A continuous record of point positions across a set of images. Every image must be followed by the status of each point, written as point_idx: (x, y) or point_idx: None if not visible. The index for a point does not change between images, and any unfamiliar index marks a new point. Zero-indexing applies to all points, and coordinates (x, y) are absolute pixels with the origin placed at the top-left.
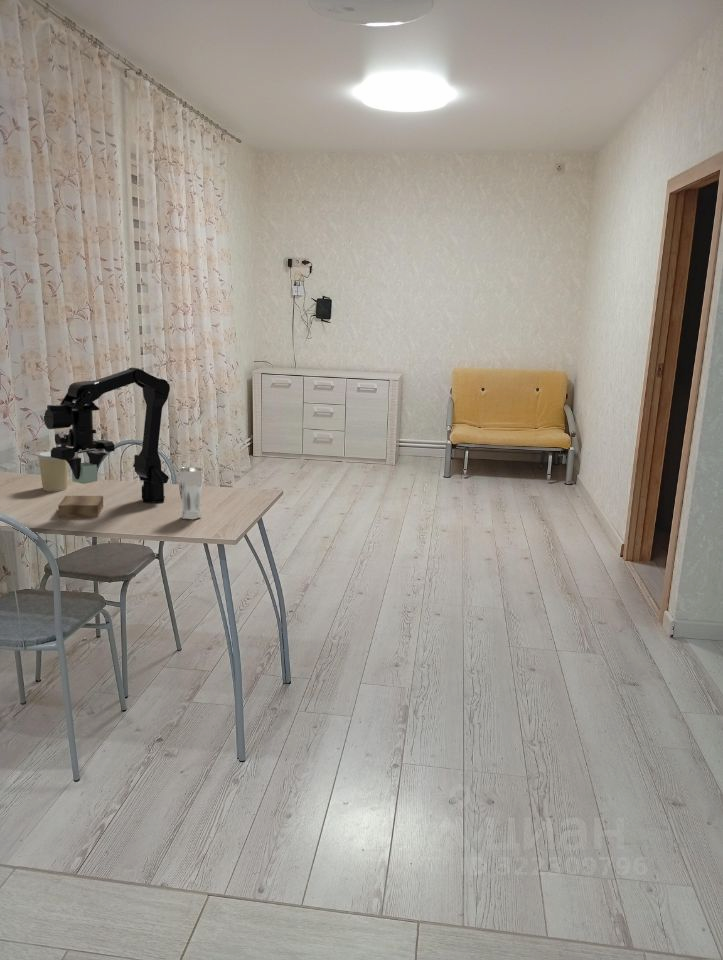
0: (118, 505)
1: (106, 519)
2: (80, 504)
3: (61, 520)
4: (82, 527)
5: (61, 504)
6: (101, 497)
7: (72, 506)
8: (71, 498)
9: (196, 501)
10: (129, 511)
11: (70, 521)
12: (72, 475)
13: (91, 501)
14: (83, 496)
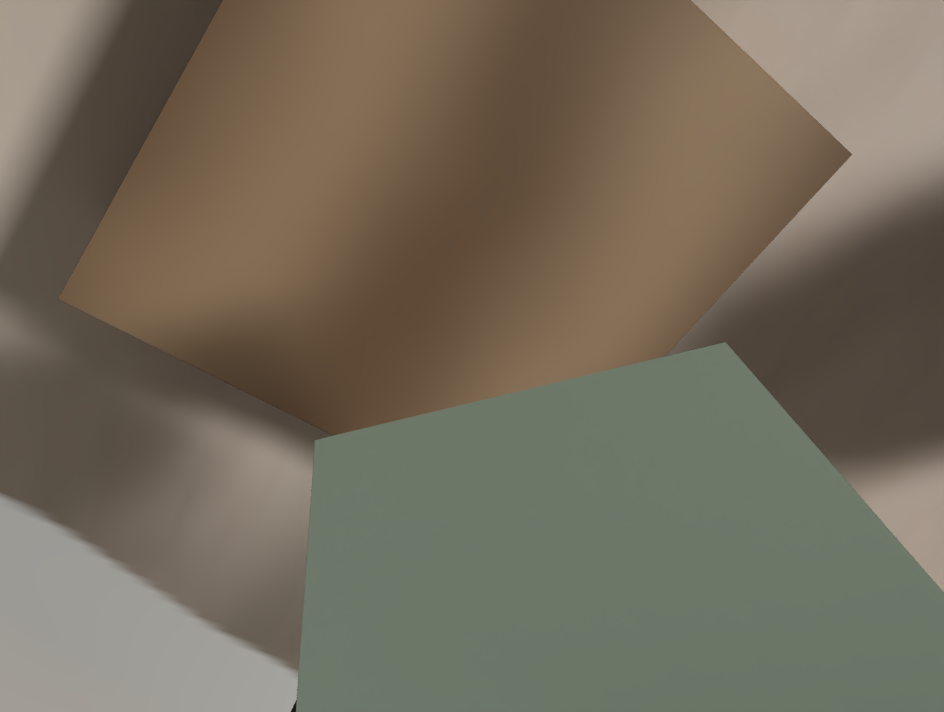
0: (920, 162)
1: None
2: (361, 400)
3: (106, 361)
4: (225, 626)
5: (120, 269)
6: (769, 235)
7: (249, 388)
8: (394, 6)
9: None
10: (818, 422)
11: (186, 437)
12: (310, 561)
13: (549, 345)
14: (617, 9)
